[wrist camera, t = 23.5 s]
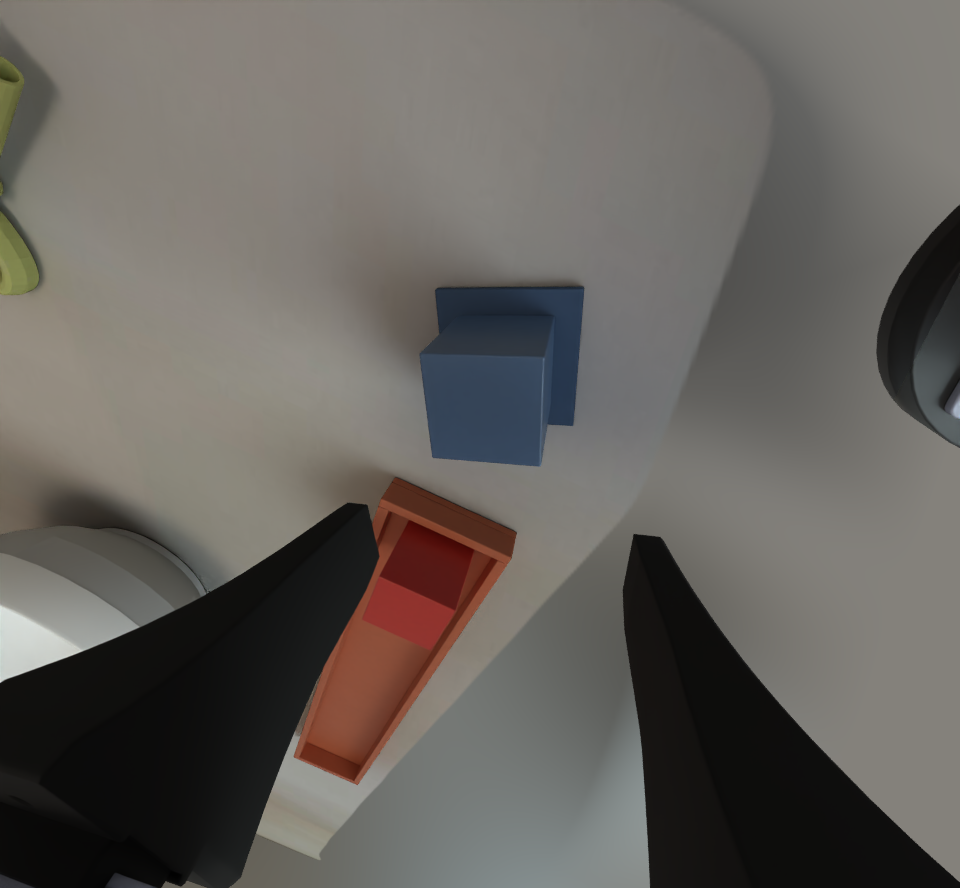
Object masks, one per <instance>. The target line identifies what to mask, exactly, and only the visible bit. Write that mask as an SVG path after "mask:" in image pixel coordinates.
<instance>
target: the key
mask: <svg viewBox="0 0 960 888" xmlns="http://www.w3.org/2000/svg"><path fill="white" fill-rule="evenodd" d="M23 85H24V77H23V76H22V74H21V73H20V71H19V70H18V69H17V68H16V67H15V66H14V65H13V64H12V63H10V62H9V61H8V60H6V59H5V58H3V57H1V56H0V156H1V153H2V150H3V147H4V144H5V141H6V138H7V135H8V132H9V128H10V125H11V122H12V119H13V116H14V113H15V110H16V107H17V104H18V101H19V98H20V95H21V91H22V88H23ZM2 194H3V186H2V183H1V181H0V196H1V195H2ZM0 269H1V270H0V294H2V295H20V294H24V293H26V292H29V291H31V290H33V289H34V288H35V287H36V286H37V284H38V282H39V273H38V270H37V266H36V264H35V261H34V259H33V257H32V255H31V253H30V252H29V250H28V248H27V247H26V245H25V243H24V242H23V240H22V238H21V237H20V235H19V234H18V233H17V231H16V230H15V229H14V227H13V226H12V225H11V223H10V222H9V221H8V219H7V218H6V217H5V216H4V215H3V213H2V212H1V211H0Z"/></svg>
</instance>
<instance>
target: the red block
mask: <svg viewBox="0 0 960 888" xmlns="http://www.w3.org/2000/svg"><path fill="white" fill-rule="evenodd" d="M474 550H475V549H472V548H470V547H468V546H466V545H464V544H461V543H459V542H457V541H455V540H453V539H450V538H448V537H446V536H444V535H442V534H440V533H437V532H435V531H433V530H431V529H429V528H426V527H424V526H422V525H420V524H418V523H415V522H413V521H411V520H409V521H408V523H407V525H406V527H405V528H404V530H403V532H402V534H401V536H400V538H399V540H398V541H397V543H396V545H395V547H394V549H393V551H392V553H391V554H390V556H389V558H388V560H387V562H386V564H385V566H384V567H383V569H382V571H381V573H380V575H379V577H378V579H377V582H376V585H375V587H374V590H373V592H372V595H371V597H370V600H369V602H368V605H367V607H366V610H365V612H364V615H363V617H362V620H363V621H366V622H368V623H370V624H372V625H374V626H377V627H379V628H381V629H383V630H386V631H388V632H390V633H392V634H395V635H397V636H399V637H401V638H404V639H406V640H408V641H410V642H412V643H415V644H417V645H419V646H421V647H424V648H426V649H428V650H432V648H433V646H434V645H435V643H436V642H437V640H438V639H439V637H440V635H441V634H442V632H443V631H444V629H445V627H446V626H447V624H448V623H449V621H450V619H451V618H452V616H453V615H454V613H455V611H456V609H457V606H458V602H459V599H460V596H461V593H462V589H463V586H464V583H465V580H466V576H467V573H468V570H469V567H470V563H471V560H472V557H473V554H474Z"/></svg>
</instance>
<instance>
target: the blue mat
mask: <svg viewBox="0 0 960 888" xmlns="http://www.w3.org/2000/svg"><path fill="white" fill-rule="evenodd" d="M435 293H436V304H437V314H438V324H439V334H440V333H441V332H442V331H443V330H444V329H445V328H446V327H447V326H448V325H450V324H451V323H452V322H453V321H454V320H455V319H456V318H457V317H458V316H459V315H526V316H554V317H555V324H554V346H553V367H552V388H551V406H550V412H549V419H548V424H550V425H567V426H573V422H574V409H575V397H576V384H577V372H578V359H579V347H580V334H581V322H582V309H583V297H584V287H482V288H437V289H436V290H435Z"/></svg>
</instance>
